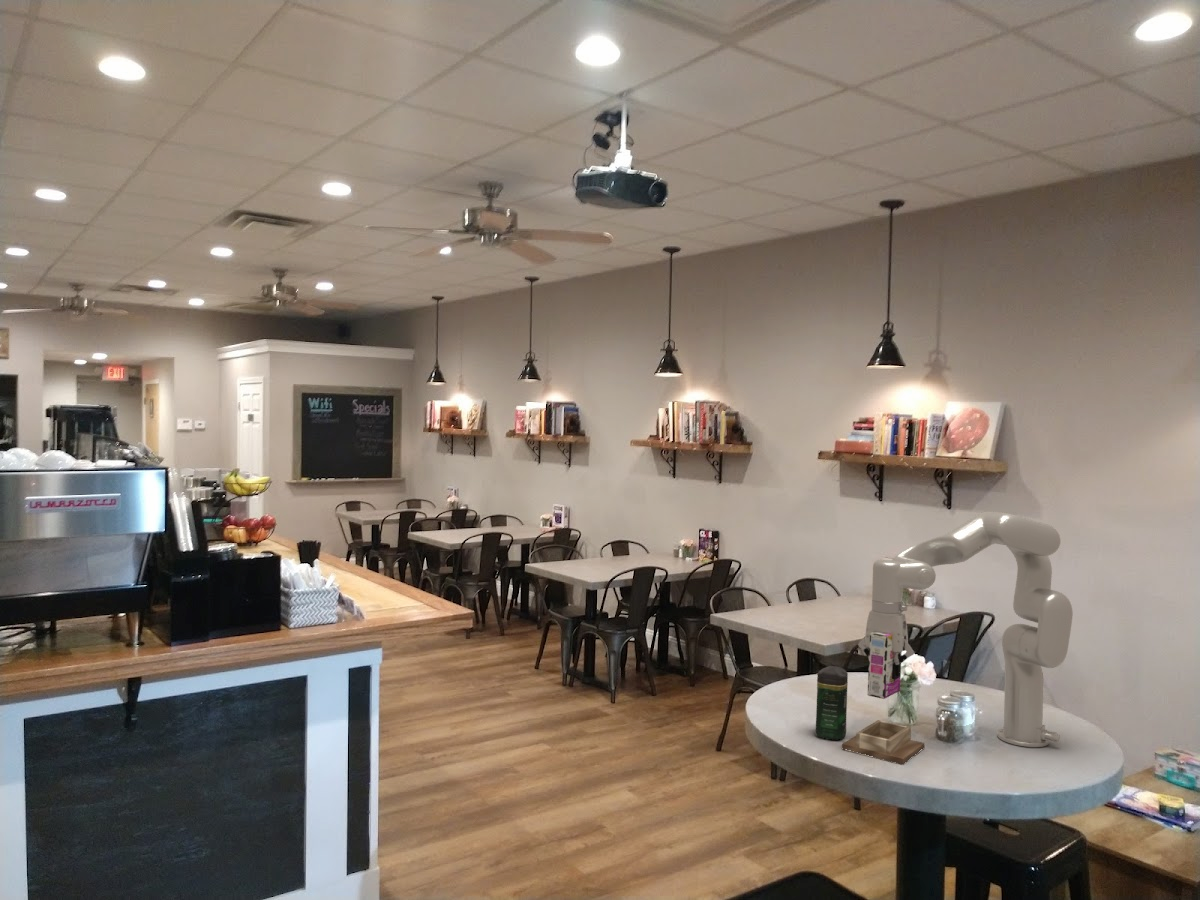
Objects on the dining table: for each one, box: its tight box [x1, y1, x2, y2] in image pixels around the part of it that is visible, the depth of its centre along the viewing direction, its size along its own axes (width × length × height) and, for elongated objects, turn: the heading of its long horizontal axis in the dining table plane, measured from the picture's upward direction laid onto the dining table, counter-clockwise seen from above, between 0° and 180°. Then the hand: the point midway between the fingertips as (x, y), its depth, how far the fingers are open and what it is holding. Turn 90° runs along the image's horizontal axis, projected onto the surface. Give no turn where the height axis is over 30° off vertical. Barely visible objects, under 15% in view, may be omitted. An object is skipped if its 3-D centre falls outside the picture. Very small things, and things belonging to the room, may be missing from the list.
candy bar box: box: [867, 632, 903, 700], centre depth 228 cm, size 11×5×16 cm, turn 141°
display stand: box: [841, 719, 925, 765], centre depth 229 cm, size 16×16×5 cm
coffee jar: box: [815, 665, 849, 740], centre depth 239 cm, size 10×8×19 cm
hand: (884, 675), depth 229 cm, fingers closed on candy bar box, 5 cm apart
